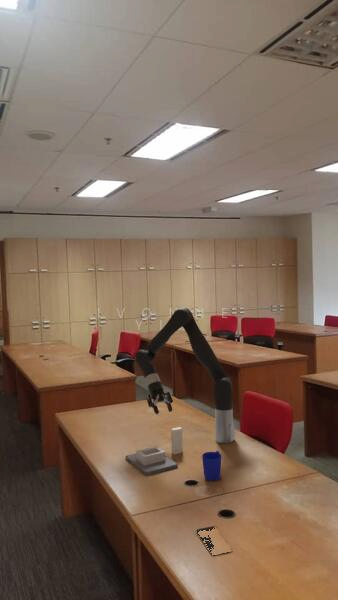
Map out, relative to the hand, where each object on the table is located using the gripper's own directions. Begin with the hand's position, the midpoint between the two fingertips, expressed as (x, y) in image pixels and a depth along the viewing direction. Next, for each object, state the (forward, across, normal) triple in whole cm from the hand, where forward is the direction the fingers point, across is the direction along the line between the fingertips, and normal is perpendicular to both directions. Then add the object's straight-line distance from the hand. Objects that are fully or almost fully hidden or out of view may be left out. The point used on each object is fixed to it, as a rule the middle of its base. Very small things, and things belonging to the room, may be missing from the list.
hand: (164, 412), depth 235 cm
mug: (+40, -5, -24) cm, 47 cm away
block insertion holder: (+23, -17, +1) cm, 28 cm away
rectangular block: (+21, 0, +1) cm, 21 cm away
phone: (+63, -38, -50) cm, 89 cm away
